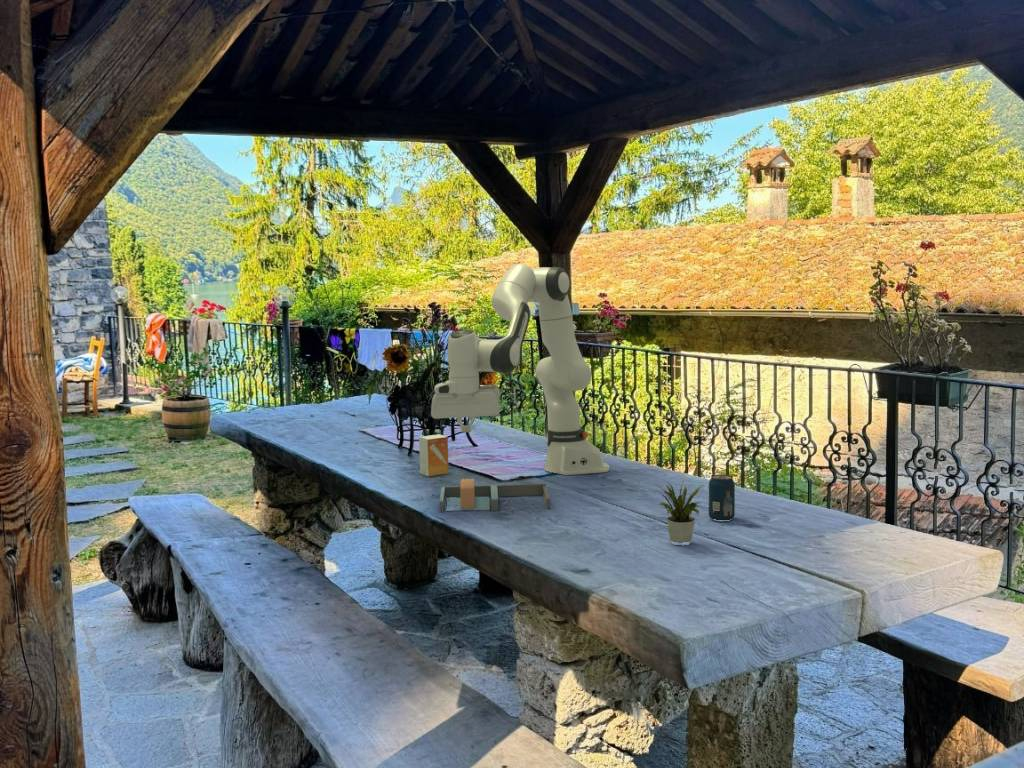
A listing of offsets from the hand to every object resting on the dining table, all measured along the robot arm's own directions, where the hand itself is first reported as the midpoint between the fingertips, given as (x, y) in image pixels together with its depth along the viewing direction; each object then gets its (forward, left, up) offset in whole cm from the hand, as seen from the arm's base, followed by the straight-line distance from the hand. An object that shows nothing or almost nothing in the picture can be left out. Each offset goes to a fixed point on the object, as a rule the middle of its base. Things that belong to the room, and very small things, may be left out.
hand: (466, 431), depth 274 cm
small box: (+12, -43, -22) cm, 50 cm away
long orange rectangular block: (0, 0, -22) cm, 22 cm away
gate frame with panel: (-8, 0, -22) cm, 23 cm away
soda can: (-70, +25, -22) cm, 77 cm away
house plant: (-53, +45, -22) cm, 73 cm away
